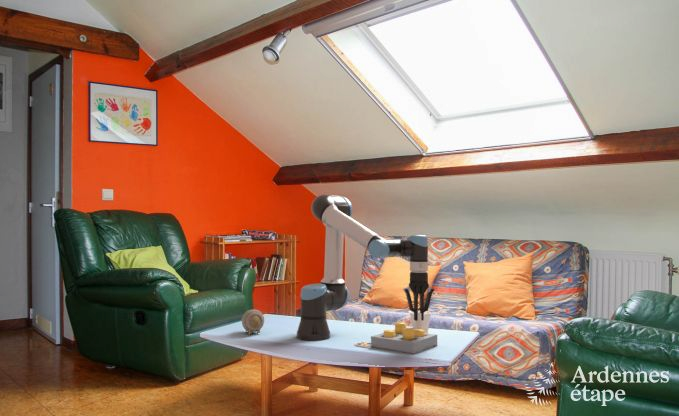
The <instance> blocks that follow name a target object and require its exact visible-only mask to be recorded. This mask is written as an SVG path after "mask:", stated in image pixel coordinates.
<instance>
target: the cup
mask: <svg viewBox="0 0 679 416" xmlns="http://www.w3.org/2000/svg"><path fill="white" fill-rule="evenodd" d="M418 312H420V310H418ZM408 313H409V316H410V317H409V318H410V322H411V328H414V330H415V329H417V328H416V321H415V320H414V312H412V311H409V312H408ZM431 317H432V312H430V311H429V310H428V311H426V312H424V320H421V329H423V330H425V333H428V334H429V327H430V322H431Z"/></svg>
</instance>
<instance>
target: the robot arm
mask: <svg viewBox="0 0 679 416" xmlns="http://www.w3.org/2000/svg"><path fill="white" fill-rule="evenodd" d="M310 209H311V213H312V215H313V217H314V218H315V219H317V220H318V221H320V222H321V223H322V224H323V226H324V227H325V240H324V241H325V242H324V243H325V244H324V245H325V247H324V267H323V268H324V271H323V273H324V274H323V278H322V279H321V280H320V283H311V284H310V283H309V284H306V285H304V286H302V288H301V289H300V295H299V297H300V321H299V323H298V327H297V331H296V338H297V339H299V338H300V339H299V340H303V339H304V341H320V340H321V341H323V340H327V339H330V338H331V330H330V328H329V324H328V321H327V312H330V311H338V310H340V309H342V308H344V307H346V305H347V304H348V303H349V300H350V291H349V289H348V287H347V286H346V281H345V280H344V278H343V266H344V265H343V261H344V258H343V257H344V239H345V238H344V237H345V236H347V238H350V239H352V240H353V241H354V242H356V243H357V244H358V245H361V246H362V247H363V248H365V249H366V250H368V253H369V255H370V256H371V257H373V258H374V259H384V258H397V257H400V258H409V271H410V273H409V283H408V286H407V287H404V288H403V292H404V293H405V296H406V301H407V304H408V309H409V312H411V311H412V312H414V320H415V321H416V328H417V329H421V320H424V312H426V311H428V312H429V307H430V304H431V300H432V295H433V293H434V292H435V288H433V287H431V286H430V284H429V273H428V271H429V267H428V266H429V264H428V263H429V260H428V258H429V241H428V236H427V235H425V234H411V235H409V239H400V238H399V239H398V238H390V239H385V238H384V237H382V236H381V235H379V234H378V233H376V232H374V231H372V230H371V229H369V228H368V227H366V226H365V225H363V224H362V223H360V222H359V221H357V220H355V219H353V218H352V217H351V216H352V215H353V205H352V202H351V201H350V200H349V199H348V198H347V197H345V196H341V195H332V194H331V195H330V194H321V195H318V196H316V197H315V198H314V199H313V200H312V202H311V206H310ZM344 235H345V236H344ZM410 292H412V293H413V294H412V296H413V300H412V296H411V293H410ZM426 292H427V294H426V297H425V293H426ZM418 311H420V312H418Z"/></svg>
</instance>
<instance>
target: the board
mask: <svg viewBox="0 0 679 416" xmlns="http://www.w3.org/2000/svg"><path fill="white" fill-rule="evenodd" d="M393 330H394V331H395V329H393ZM370 343H371V346H370V347H371V348H374V349H381V350H385V351H392V352H398V353H405V354H410V355H415V354H417V353H421V352H424V351H426V350H429V349H431V348H434V347H436V346H438V334H435V333H429V332H428V333H425V336H424V337H417V336H414V340H412V341H409V340H403V337H402V334H396V333H395V337H394V338H388V337H384V332H382V333H379V334H375V335H372V336H370Z"/></svg>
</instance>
